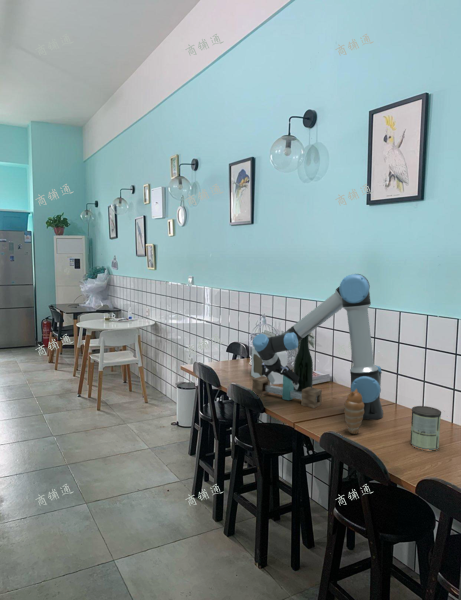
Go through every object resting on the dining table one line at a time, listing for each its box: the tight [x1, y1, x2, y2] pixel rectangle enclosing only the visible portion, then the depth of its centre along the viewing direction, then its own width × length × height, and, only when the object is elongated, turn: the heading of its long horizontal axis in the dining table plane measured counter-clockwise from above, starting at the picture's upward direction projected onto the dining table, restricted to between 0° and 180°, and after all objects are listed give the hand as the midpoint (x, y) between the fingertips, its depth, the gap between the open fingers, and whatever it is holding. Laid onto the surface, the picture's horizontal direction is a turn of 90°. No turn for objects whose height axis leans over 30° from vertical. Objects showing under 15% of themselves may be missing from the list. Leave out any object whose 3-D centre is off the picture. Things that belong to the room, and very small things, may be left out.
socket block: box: [251, 376, 271, 397], centre depth 241 cm, size 5×9×8 cm, turn 143°
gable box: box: [250, 329, 289, 385], centre depth 269 cm, size 22×13×28 cm, turn 19°
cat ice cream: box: [343, 389, 364, 435], centre depth 187 cm, size 9×8×18 cm
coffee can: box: [409, 405, 442, 450], centre depth 176 cm, size 10×10×14 cm
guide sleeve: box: [300, 386, 323, 409], centre depth 224 cm, size 7×7×8 cm
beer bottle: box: [292, 333, 314, 392], centre depth 246 cm, size 10×10×33 cm
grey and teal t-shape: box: [265, 375, 318, 402], centre depth 230 cm, size 28×4×13 cm, turn 53°
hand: (285, 384), depth 231 cm, fingers open, 13 cm apart
